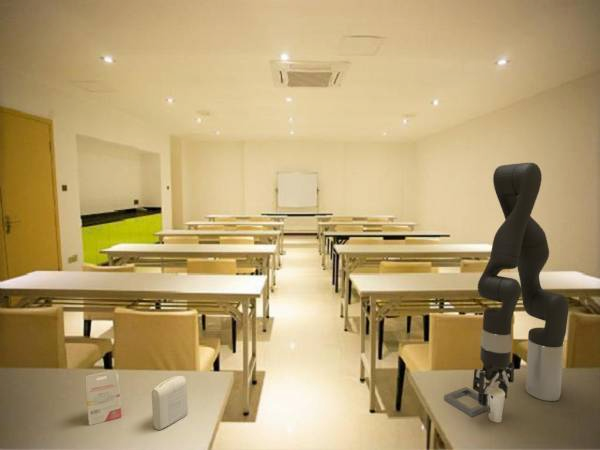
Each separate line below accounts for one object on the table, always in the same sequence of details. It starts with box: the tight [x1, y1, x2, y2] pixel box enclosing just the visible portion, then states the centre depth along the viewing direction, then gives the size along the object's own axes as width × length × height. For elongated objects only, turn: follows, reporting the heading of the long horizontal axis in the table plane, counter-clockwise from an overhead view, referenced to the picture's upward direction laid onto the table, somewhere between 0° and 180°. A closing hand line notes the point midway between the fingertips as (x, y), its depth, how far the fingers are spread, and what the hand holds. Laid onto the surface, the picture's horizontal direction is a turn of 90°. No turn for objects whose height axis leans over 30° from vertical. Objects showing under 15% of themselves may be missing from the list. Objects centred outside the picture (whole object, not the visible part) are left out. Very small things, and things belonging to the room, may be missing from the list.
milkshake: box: [487, 386, 506, 424], centre depth 107 cm, size 4×5×10 cm
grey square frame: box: [443, 386, 488, 418], centre depth 115 cm, size 10×10×2 cm
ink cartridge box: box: [84, 369, 122, 426], centre depth 110 cm, size 9×5×15 cm, turn 115°
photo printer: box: [151, 375, 189, 431], centre depth 109 cm, size 10×4×12 cm, turn 144°
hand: (492, 400), depth 107 cm, fingers open, 8 cm apart
